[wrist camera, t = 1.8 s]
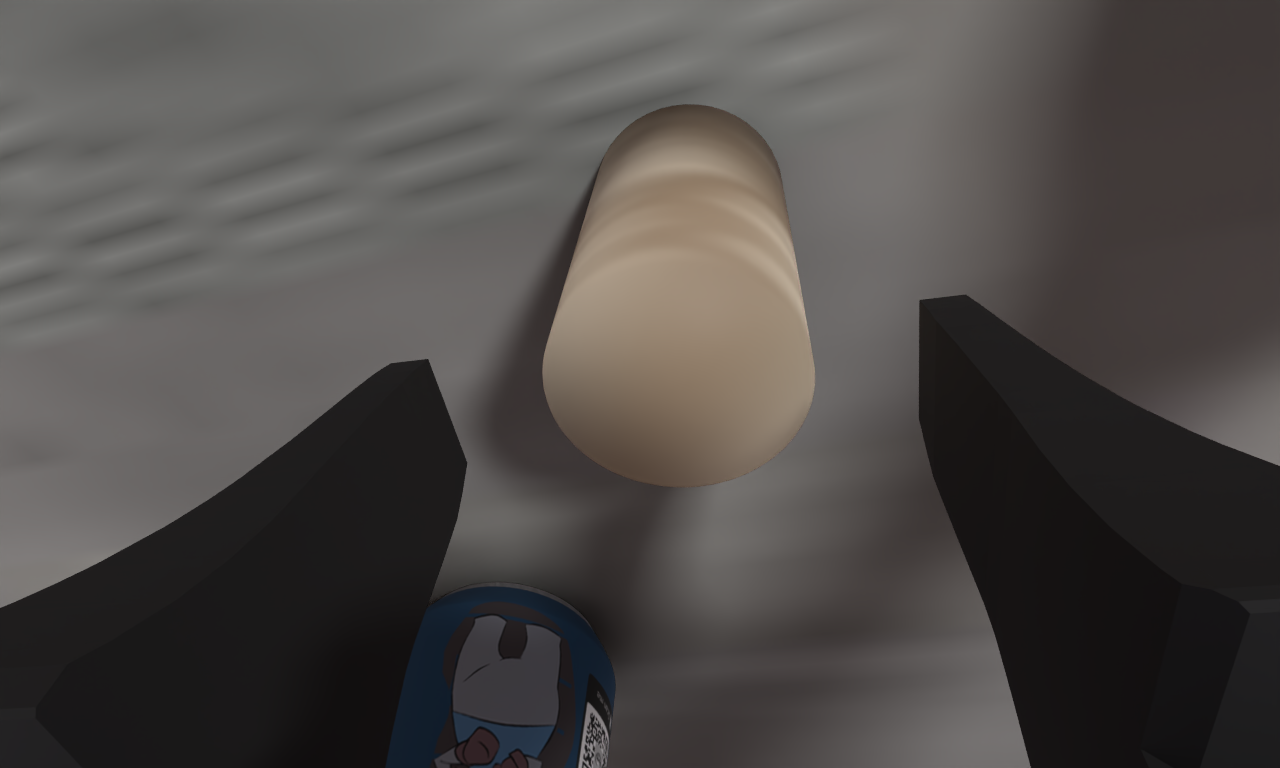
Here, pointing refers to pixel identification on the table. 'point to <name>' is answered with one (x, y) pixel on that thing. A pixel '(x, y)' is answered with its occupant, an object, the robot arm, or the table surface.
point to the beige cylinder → (682, 307)
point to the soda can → (504, 685)
